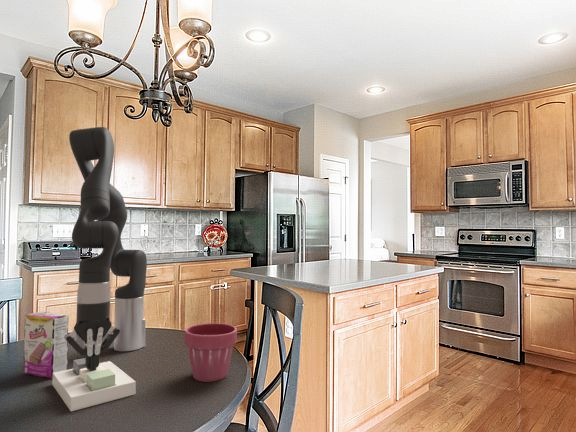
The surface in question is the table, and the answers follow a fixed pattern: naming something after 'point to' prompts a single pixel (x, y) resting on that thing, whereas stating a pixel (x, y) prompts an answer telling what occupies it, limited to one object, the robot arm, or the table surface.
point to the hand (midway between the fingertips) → (91, 369)
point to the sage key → (100, 379)
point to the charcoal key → (78, 365)
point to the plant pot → (210, 349)
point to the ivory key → (84, 372)
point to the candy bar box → (45, 344)
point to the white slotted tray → (82, 397)
